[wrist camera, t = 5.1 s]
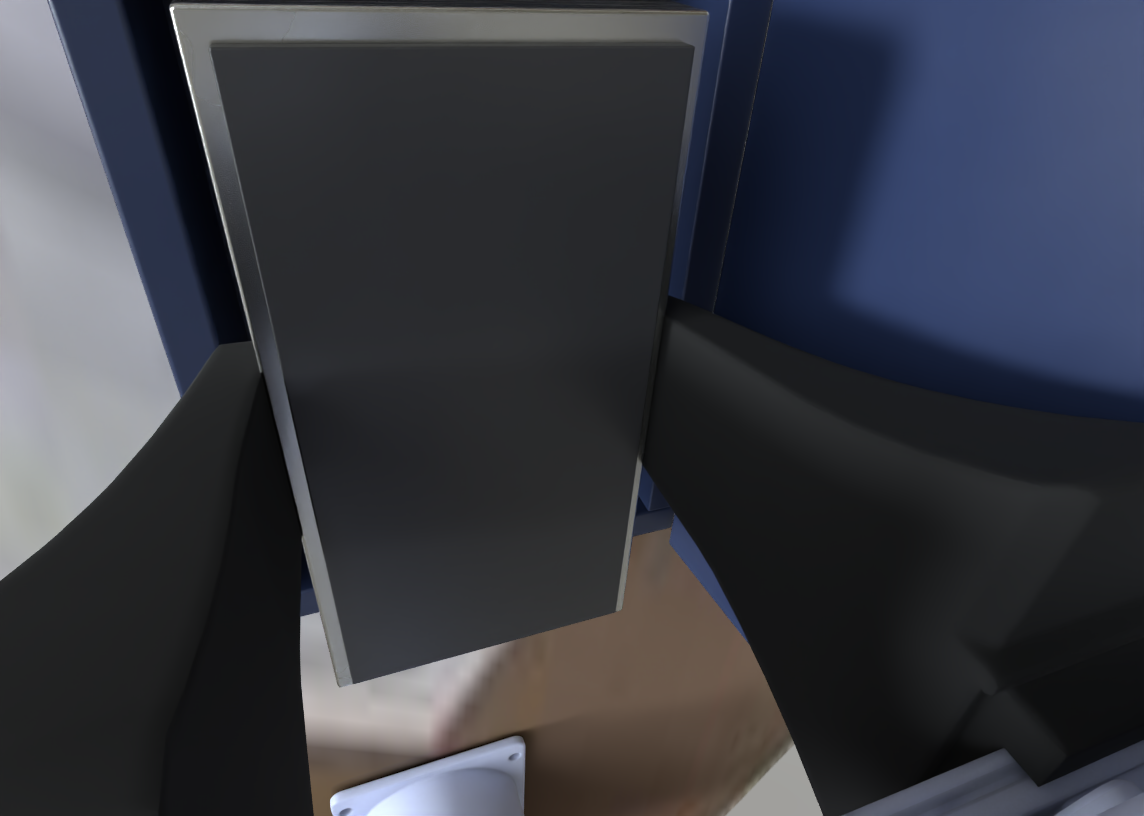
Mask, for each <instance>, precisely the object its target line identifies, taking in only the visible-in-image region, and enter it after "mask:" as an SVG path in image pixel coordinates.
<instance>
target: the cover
mask: <svg viewBox="0 0 1144 816" xmlns="http://www.w3.org/2000/svg"><path fill="white" fill-rule="evenodd" d="M713 313H714V314H716V315H719V316H721V317H723V318H726V319H728V320H730V321H732V322H735V323H737V324H739V325H742V326H744V327H746V328H748V329H751V330H753V331H755V332H758V333H760V334H763V335H765V336H767V337H770V338H772V339H774V340H777V341H779V342H782V343H784V344H787V345H789V346H792V347H794V348H797V349H800V350H802V351H805V352H808V353H810V354H813V355H816V356H818V357H821V358H824V359H826V360H829V361H832V362H835V363H838V364H841V365H844V366H847V367H850V368H853V369H856V370H859V371H863V372H866V373H869V374H873V375H876V376H879V377H883V378H886V379H889V380H893V381H896V382H900V383H904V384H907V385H911V386H915V387H919V388H923V389H927V390H932V391H936V392H941V393H945V394H950V395H954V396H959V397H963V398H968V399H972V400H977V401H983V402H988V403H994V404H999V405H1005V406H1010V407H1016V408H1023V409H1030V410H1036V411H1043V412H1050V413H1056V414H1063V415H1071V416H1079V417H1089V418H1099V419H1110V420H1120V421H1130V422H1141V423H1144V0H773V5H772V10H771V15H770V21H769V26H768V31H767V36H766V41H765V47H764V52H763V57H762V62H761V68H760V73H759V78H758V83H757V88H756V94H755V99H754V104H753V109H752V114H751V120H750V125H749V130H748V135H747V140H746V146H745V151H744V156H743V161H742V166H741V172H740V177H739V182H738V187H737V192H736V198H735V203H734V208H733V213H732V218H731V224H730V229H729V234H728V239H727V244H726V250H725V255H724V260H723V265H722V270H721V276H720V281H719V286H718V291H717V296H716V302H715V307H714V312H713ZM669 542H670V545H671V546H672V547H673V548H674V550H675V551H676V552H677V554H678V555H679V556H680V557H681V559H682V560H683V561H684V562H685V564H686V565H687V566H688V567H689V569H690V570H691V571H692V573H693V574H694V575H695V576H696V578H697V579H698V580H699V581H700V583H701V584H702V585H703V586H704V588H705V589H706V590H707V591H708V593H709V594H710V595H711V597H712V598H713V599H714V600H715V602H716V603H717V604H718V605H719V607H720V608H721V609H722V610H723V612H724V613H725V614H726V616H727V617H728V618H729V619H730V621H731V622H732V623H733V624H734V626H735V627H736V628H737V629H738V631H739V632H740V633H741V635H742V636H743V637H744V638H745V640H746V641H747V642H748V640H747V638H746V636H745V634H744V632H743V630H742V628H741V626H740V624H739V622H738V620H737V618H736V616H735V614H734V612H733V610H732V608H731V606H730V604H729V602H728V600H727V598H726V597H725V595H724V593H723V591H722V589H721V587H720V585H719V583H718V581H717V579H716V577H715V575H714V573H713V572H712V570H711V568H710V567H709V565H708V563H707V562H706V560H705V558H704V557H703V555H702V553H701V552H700V550H699V548H698V547H697V546H696V544H695V543H694V541H693V540H692V538H691V537H690V535H689V534H688V532H687V531H686V529H685V528H684V526H683V525H682V523H681V522H680V520H679V519H678V517H677V516H676V514H675V515H674V520H673V525H672V531H671V536H670V541H669ZM748 643H749V642H748ZM749 645H750V644H749Z"/></svg>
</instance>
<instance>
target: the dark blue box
mask: <svg viewBox="0 0 1144 816" xmlns="http://www.w3.org/2000/svg"><path fill="white" fill-rule="evenodd" d="M47 1H48V4H49V7H50V10H51V13H52V16H53V19H54V22H55V25H56V28H57V31H58V34H59V37H60V40H61V43H62V46H63V49H64V52H65V55H66V58H67V60H68V63H69V66H70V69H71V72H72V75H73V78H74V81H75V84H76V87H77V90H78V93H79V96H80V99H81V102H82V105H83V108H84V111H85V114H86V117H87V120H88V123H89V126H90V129H91V132H92V135H93V138H94V141H95V144H96V147H97V150H98V153H99V156H100V159H101V162H102V165H103V167H104V170H105V173H106V176H107V179H108V182H109V185H110V188H111V191H112V194H113V197H114V200H115V203H116V206H117V209H118V212H119V215H120V218H121V221H122V224H123V227H124V230H125V233H126V236H127V239H128V242H129V245H130V248H131V251H132V254H133V257H134V260H135V263H136V266H137V269H138V272H139V274H140V277H141V280H142V283H143V286H144V289H145V292H146V295H147V298H148V301H149V304H150V307H151V310H152V313H153V316H154V319H155V322H156V325H157V328H158V331H159V334H160V337H161V340H162V343H163V346H164V349H165V352H166V355H167V358H168V361H169V364H170V367H171V370H172V373H173V376H174V379H175V381H176V384H177V387H178V390H179V393H180V396H181V398H182V396H183V395H184V393H185V392H186V391H187V389H188V388H189V386H190V385H191V384H192V382H193V381H194V379H195V378H196V376H197V375H198V373H199V372H200V370H201V369H202V367H203V366H204V364H205V363H206V361H207V360H208V359H209V357H210V356H211V354H212V353H213V352H214V351H215V349H216V348H217V347H218V346H219V345H222V344H230V343H238V342H246V341H252V340H251V336H250V332H249V328H248V324H247V320H246V316H245V312H244V308H243V304H242V300H241V296H240V292H239V288H238V284H237V280H236V276H235V272H234V268H233V264H232V259H231V255H230V251H229V247H228V243H227V239H226V235H225V231H224V227H223V223H222V219H221V215H220V211H219V207H218V203H217V199H216V195H215V191H214V187H213V183H212V179H211V175H210V171H209V167H208V163H207V159H206V155H205V151H204V147H203V143H202V139H201V135H200V131H199V127H198V123H197V119H196V115H195V111H194V107H193V103H192V99H191V95H190V91H189V87H188V83H187V79H186V75H185V71H184V67H183V63H182V59H181V55H180V51H179V47H178V43H177V39H176V35H175V31H174V27H173V23H172V19H171V15H170V11H169V7H170V4H171V2H172V1H173V0H47ZM671 1H675V2H678V3H682V4H685V5H689V6H692V7H696V8H699V9H703V10H706V11H708V12H709V16H710V17H709V24H708V31H707V37H706V44H705V51H704V58H703V64H702V71H701V78H700V85H699V91H698V98H697V105H696V112H695V119H694V125H693V132H692V139H691V146H690V152H689V159H688V166H687V173H686V179H685V186H684V193H683V200H682V206H681V213H680V220H679V227H678V233H677V240H676V247H675V254H674V261H673V267H672V274H671V281H670V288H669V294H668V295H670V296H673V297H675V298H678V299H681V300H683V301H686V302H688V303H691V304H693V305H696V306H698V307H700V308H703V309H705V310H707V311H709V312H712V313H713V309H714V304H715V299H716V294H717V288H718V283H719V278H720V273H721V267H722V262H723V257H724V252H725V247H726V241H727V236H728V231H729V226H730V220H731V215H732V210H733V205H734V200H735V194H736V189H737V184H738V179H739V174H740V168H741V163H742V158H743V153H744V147H745V142H746V137H747V132H748V127H749V121H750V116H751V111H752V106H753V100H754V95H755V90H756V85H757V80H758V74H759V69H760V64H761V59H762V54H763V48H764V43H765V38H766V33H767V27H768V22H769V17H770V12H771V7H772V1H773V0H671ZM673 517H674V511H673V510H672V508H671V507H670V505H669V504H668V502H667V501H666V499H665V498H664V497H663V495H662V494H661V492H660V491H659V489H658V488H657V486H656V485H655V483H654V482H653V480H652V479H651V477H650V476H649V474H648V472H647V471H646V469H645V468H644V466H643V470H642V477H641V484H640V490H639V497H638V504H637V511H636V517H635V524H634V531H633V536H637V535H642V534H646V533H650V532H654V531H658V530H662V529H666V528H670V527H671V526H672V522H673ZM317 612H319V608H318V604H317V600H316V596H315V592H314V588H313V584H312V580H311V576H310V572H309V568H308V564H307V560H306V556H305V552H304V548H303V544H302V551H301V610H300V616H305V615H309V614H313V613H317Z"/></svg>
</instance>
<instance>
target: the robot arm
mask: <svg viewBox="0 0 1144 816" xmlns="http://www.w3.org/2000/svg"><path fill="white" fill-rule="evenodd" d="M643 466H644V468H645V469H646V471H647V472H648V474H649V476H650V477H651V479H652V480H653V482H654V483H655V485H656V486H657V488H658V489H659V491H660V492H661V494H662V495H663V497H664V498H665V499H666V501H667V502H668V504H669V505H670V507H671V508H672V510H673V511H674V513H675V514H676V516H677V517H678V519H679V520H680V522H681V523H682V525H683V526H684V528H685V529H686V531H687V532H688V534H689V535H690V537H691V538H692V540H693V541H694V543H695V544H696V546H697V547H698V548H699V550H700V552H701V553H702V555H703V557H704V558H705V560H706V562H707V563H708V565H709V567H710V568H711V570H712V572H713V573H714V575H715V577H716V579H717V581H718V583H719V585H720V587H721V589H722V591H723V593H724V595H725V597H726V598H727V600H728V602H729V604H730V606H731V608H732V610H733V612H734V614H735V616H736V618H737V620H738V622H739V624H740V626H741V628H742V630H743V632H744V634H745V636H746V638H747V640H748V642H749V644H750V647H751V649H752V651H753V653H754V655H755V657H756V659H757V661H758V663H759V665H760V667H761V669H762V671H763V674H764V676H765V678H766V680H767V682H768V685H769V687H770V689H771V691H772V694H773V696H774V698H775V700H776V703H777V705H778V707H779V709H780V712H781V714H782V716H783V719H784V721H785V723H786V725H787V728H788V730H789V732H790V734H791V737H792V739H793V741H794V744H795V746H796V749H797V751H798V753H799V756H800V758H801V761H802V764H803V766H804V768H805V771H806V773H807V776H808V778H809V781H810V783H811V786H812V788H813V791H814V793H815V796H816V798H817V801H818V803H819V806H820V808H821V811H822V813H823V816H1144V423H1141V422H1130V421H1120V420H1110V419H1099V418H1089V417H1079V416H1071V415H1063V414H1056V413H1050V412H1043V411H1036V410H1030V409H1023V408H1016V407H1010V406H1005V405H999V404H994V403H988V402H983V401H977V400H972V399H968V398H963V397H959V396H954V395H950V394H945V393H941V392H936V391H932V390H927V389H923V388H919V387H915V386H911V385H907V384H904V383H900V382H896V381H893V380H889V379H886V378H883V377H879V376H876V375H873V374H869V373H866V372H863V371H859V370H856V369H853V368H850V367H847V366H844V365H841V364H838V363H835V362H832V361H829V360H826V359H824V358H821V357H818V356H816V355H813V354H810V353H808V352H805V351H802V350H800V349H797V348H794V347H792V346H789V345H787V344H784V343H782V342H779V341H777V340H774V339H772V338H770V337H767V336H765V335H763V334H760V333H758V332H755V331H753V330H751V329H748V328H746V327H744V326H742V325H739V324H737V323H735V322H732V321H730V320H728V319H726V318H723V317H721V316H719V315H716V314H714V313H712V312H709V311H707V310H705V309H703V308H700V307H698V306H696V305H693V304H691V303H688V302H686V301H683V300H681V299H678V298H675V297H673V296H670V295H668V301H667V308H666V315H665V320H664V327H663V334H662V341H661V347H660V354H659V361H658V368H657V374H656V381H655V388H654V395H653V402H652V408H651V415H650V422H649V429H648V435H647V442H646V449H645V456H644V462H643ZM301 551H302V536H301V532H300V528H299V524H298V520H297V516H296V511H295V507H294V503H293V499H292V495H291V491H290V487H289V483H288V479H287V475H286V471H285V467H284V463H283V459H282V455H281V451H280V447H279V443H278V439H277V435H276V431H275V427H274V423H273V419H272V415H271V411H270V407H269V403H268V399H267V395H266V391H265V387H264V383H263V379H262V374H261V372H259V368H258V364H257V360H256V356H255V352H254V348H253V344H252V341H246V342H238V343H230V344H222V345H219V346H218V347H217V348H216V349H215V351H214V352H213V353H212V354H211V356H210V357H209V359H208V360H207V361H206V363H205V364H204V366H203V367H202V369H201V370H200V372H199V373H198V375H197V376H196V378H195V379H194V381H193V382H192V384H191V385H190V386H189V388H188V389H187V391H186V392H185V393H184V395H183V396H182V398H181V399H180V400H179V402H178V403H177V404H176V406H175V407H174V408H173V410H172V411H171V412H170V414H169V415H168V416H167V417H166V419H165V420H164V421H163V423H162V424H161V425H160V427H159V428H158V429H157V431H156V432H155V433H154V434H153V436H152V437H151V438H150V439H149V441H148V442H147V443H146V444H145V445H144V446H143V448H142V449H141V450H140V451H139V452H138V453H137V454H136V456H135V457H134V458H133V459H132V460H131V461H130V462H129V464H128V465H127V466H126V467H125V468H124V469H123V470H122V472H121V473H120V474H119V475H118V476H117V477H116V478H115V480H114V481H113V482H112V483H111V484H110V485H109V486H108V487H107V488H106V489H105V490H104V491H103V492H102V493H101V494H100V495H99V496H98V497H97V498H96V499H95V500H94V501H93V502H92V503H91V504H90V505H89V506H88V507H87V508H86V509H85V510H83V511H82V512H81V513H80V514H79V515H78V516H77V517H76V518H75V519H74V520H73V521H72V522H70V523H69V524H68V525H67V526H66V527H65V528H64V529H63V530H62V531H61V532H60V533H59V534H57V535H56V536H55V537H54V538H53V539H52V540H50V541H49V542H48V543H47V544H46V545H45V546H44V547H42V548H41V549H40V550H39V551H37V552H36V553H35V554H34V555H32V556H31V557H30V558H29V559H27V560H26V561H25V562H23V563H22V564H21V565H20V566H18V567H17V568H16V569H15V570H13V571H12V572H11V573H10V574H8V575H7V576H6V577H5V578H3V579H2V580H1V581H0V816H314V814H313V804H312V794H311V784H310V774H309V764H308V754H307V743H306V732H305V722H304V711H303V700H302V689H301V672H300V610H301ZM525 747H526V746H525V743H524V740H523V737H521V736H512V737H509V738H506V739H503V740H499V741H496V742H493V743H490V744H487V745H484V746H481V747H477V748H474V749H471V750H468V751H465V752H462V753H459V754H456V755H452V756H449V757H446V758H443V759H440V760H437V761H434V762H430V763H427V764H424V765H421V766H418V767H415V768H412V769H408V770H405V771H402V772H399V773H396V774H393V775H390V776H386V777H383V778H380V779H377V780H374V781H371V782H368V783H364V784H361V785H358V786H355V787H352V788H349V789H346V790H342V791H340V792H338V793H336V794H335V795H333V797H332V798H331V799H330V804H331V811H332V814H333V816H524V786H525Z"/></svg>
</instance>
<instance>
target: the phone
mask: <svg viewBox="0 0 1144 816" xmlns="http://www.w3.org/2000/svg"><path fill="white" fill-rule="evenodd" d="M169 11H170V15H171V19H172V23H173V27H174V31H175V35H176V39H177V43H178V47H179V51H180V55H181V59H182V63H183V67H184V71H185V75H186V79H187V83H188V87H189V91H190V95H191V99H192V103H193V107H194V111H195V115H196V119H197V123H198V127H199V131H200V135H201V139H202V143H203V147H204V151H205V155H206V159H207V163H208V167H209V171H210V175H211V179H212V183H213V187H214V191H215V195H216V199H217V203H218V207H219V211H220V215H221V219H222V223H223V227H224V231H225V235H226V239H227V243H228V247H229V251H230V255H231V259H232V264H233V268H234V272H235V276H236V280H237V284H238V288H239V292H240V296H241V300H242V304H243V308H244V312H245V316H246V320H247V324H248V328H249V332H250V336H251V340H252V344H253V348H254V352H255V356H256V360H257V364H258V368H259V372H261V374H262V379H263V383H264V387H265V391H266V395H267V399H268V403H269V407H270V411H271V415H272V419H273V423H274V427H275V431H276V435H277V439H278V443H279V447H280V451H281V455H282V459H283V463H284V467H285V471H286V475H287V479H288V483H289V487H290V491H291V495H292V499H293V503H294V507H295V511H296V516H297V520H298V524H299V528H300V532H301V536H302V544H303V548H304V552H305V556H306V560H307V564H308V568H309V572H310V576H311V580H312V584H313V588H314V592H315V596H316V600H317V604H318V608H319V612H320V616H321V620H322V624H323V628H324V632H325V636H326V640H327V644H328V648H329V652H330V656H331V660H332V664H333V668H334V672H335V676H336V680H337V684H338V686H339V687H344V686H347V685H351V684H356V683H360V682H363V681H367V680H371V679H374V678H378V677H381V676H385V675H389V674H392V673H396V672H400V671H403V670H407V669H411V668H414V667H418V666H421V665H425V664H429V663H432V662H436V661H440V660H443V659H447V658H451V657H454V656H458V655H461V654H465V653H469V652H472V651H476V650H480V649H483V648H487V647H491V646H494V645H498V644H502V643H505V642H509V641H512V640H516V639H520V638H523V637H527V636H531V635H534V634H538V633H542V632H545V631H549V630H552V629H556V628H560V627H563V626H567V625H571V624H574V623H578V622H582V621H585V620H589V619H592V618H596V617H600V616H603V615H607V614H611V613H614V612H617V611H620V610H622V605H623V599H624V592H625V585H626V578H627V571H628V565H629V558H630V551H631V544H632V538H633V531H634V524H635V517H636V511H637V504H638V497H639V490H640V484H641V477H642V470H643V462H644V456H645V449H646V442H647V435H648V429H649V422H650V415H651V408H652V402H653V395H654V388H655V381H656V374H657V368H658V361H659V354H660V347H661V341H662V334H663V327H664V320H665V315H666V308H667V301H668V294H669V288H670V281H671V274H672V267H673V261H674V254H675V247H676V240H677V233H678V227H679V220H680V213H681V206H682V200H683V193H684V186H685V179H686V173H687V166H688V159H689V152H690V146H691V139H692V132H693V125H694V119H695V112H696V105H697V98H698V91H699V85H700V78H701V71H702V64H703V58H704V51H705V44H706V37H707V31H708V24H709V17H710V16H709V12H708V11H706V10H703V9H699V8H696V7H692V6H689V5H685V4H682V3H678V2H675V1H671V0H173V1H172V2H171V4H170V7H169Z"/></svg>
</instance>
